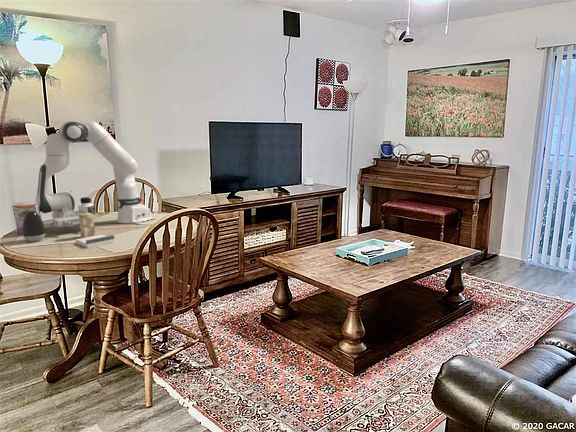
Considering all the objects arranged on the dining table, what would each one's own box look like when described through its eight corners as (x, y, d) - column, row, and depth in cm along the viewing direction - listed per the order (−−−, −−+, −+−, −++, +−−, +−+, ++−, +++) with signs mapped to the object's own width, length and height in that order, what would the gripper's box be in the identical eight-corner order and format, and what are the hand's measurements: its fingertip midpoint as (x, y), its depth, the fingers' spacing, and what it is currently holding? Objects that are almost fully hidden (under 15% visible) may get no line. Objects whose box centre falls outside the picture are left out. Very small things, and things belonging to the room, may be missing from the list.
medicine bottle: (88, 217, 271) (86, 198, 269) (78, 216, 273) (76, 198, 270) (95, 215, 278) (94, 196, 276) (86, 214, 280) (84, 196, 277)
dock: (102, 238, 220) (101, 231, 220) (114, 242, 212) (113, 235, 211) (76, 243, 211) (75, 236, 210) (87, 248, 202) (87, 241, 202)
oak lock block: (90, 235, 227) (88, 212, 224) (95, 236, 224) (92, 214, 221) (81, 237, 223) (78, 214, 221) (85, 238, 220) (83, 215, 218)
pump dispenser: (37, 237, 223) (33, 208, 220) (51, 239, 219) (47, 209, 216) (18, 241, 214) (14, 211, 211) (32, 244, 210) (27, 213, 207)
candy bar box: (17, 234, 228) (11, 205, 222) (21, 231, 233) (15, 202, 227) (40, 234, 230) (35, 204, 224) (43, 230, 235) (38, 201, 229)
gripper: (48, 216, 228) (58, 219, 219) (87, 210, 243) (98, 213, 234) (49, 227, 230) (60, 231, 221) (88, 221, 245) (99, 224, 235)
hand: (80, 222), depth 227 cm, fingers open, 8 cm apart
